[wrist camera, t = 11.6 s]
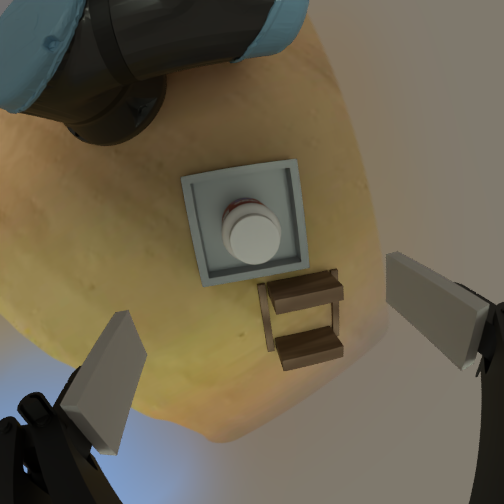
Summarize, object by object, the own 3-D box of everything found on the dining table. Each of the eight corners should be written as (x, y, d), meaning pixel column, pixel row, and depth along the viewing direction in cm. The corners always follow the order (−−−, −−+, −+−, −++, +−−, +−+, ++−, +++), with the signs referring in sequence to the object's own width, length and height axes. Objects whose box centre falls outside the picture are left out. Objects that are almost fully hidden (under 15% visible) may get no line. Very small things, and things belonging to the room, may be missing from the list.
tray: (183, 176, 35) (180, 177, 32) (290, 159, 35) (296, 158, 32) (204, 278, 39) (202, 287, 36) (303, 260, 39) (309, 267, 36)
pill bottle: (275, 204, 36) (297, 217, 26) (261, 248, 38) (277, 279, 27) (228, 191, 35) (232, 198, 25) (216, 237, 37) (214, 263, 26)
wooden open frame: (257, 284, 40) (263, 302, 34) (336, 268, 40) (352, 283, 35) (267, 349, 43) (274, 373, 37) (337, 333, 44) (351, 354, 38)
